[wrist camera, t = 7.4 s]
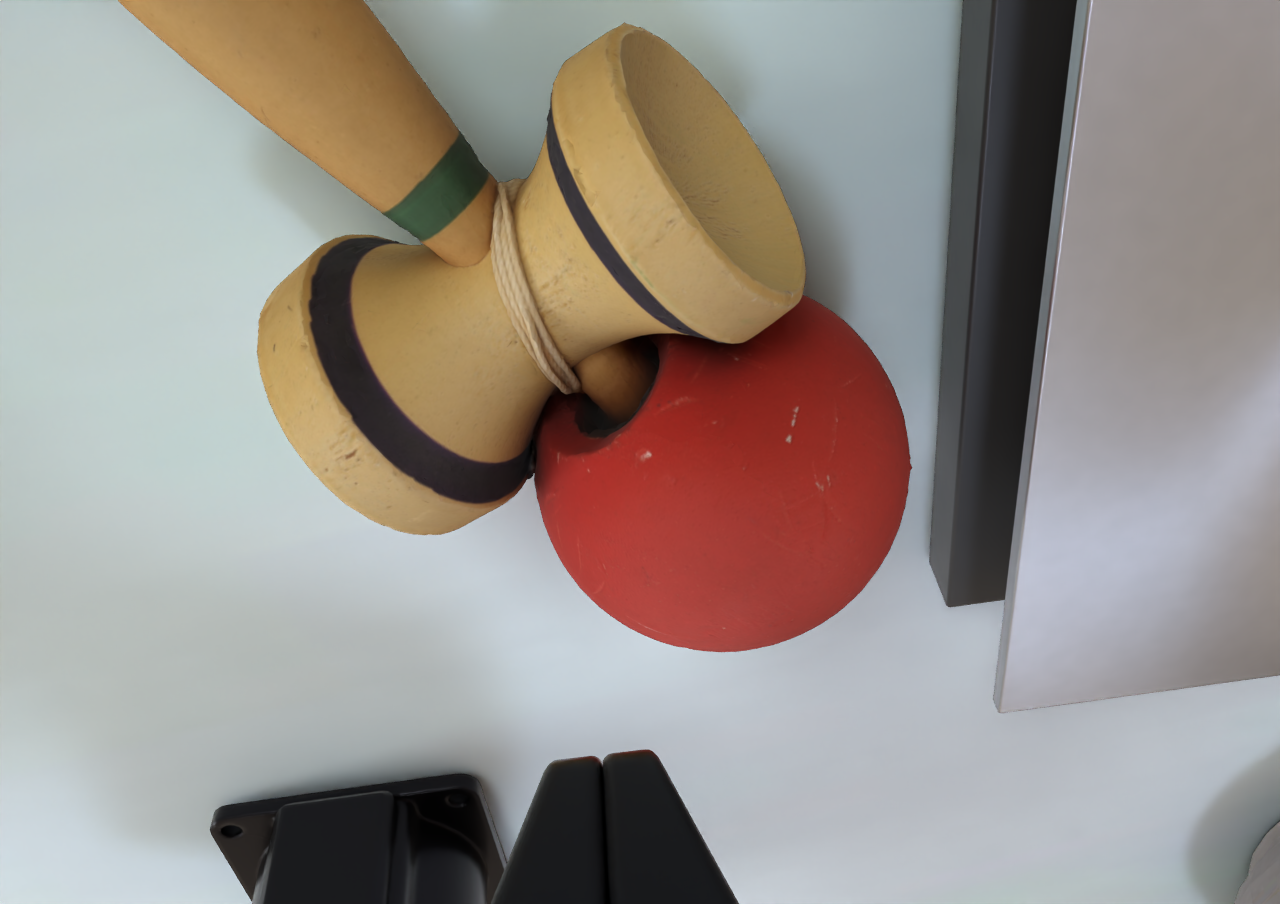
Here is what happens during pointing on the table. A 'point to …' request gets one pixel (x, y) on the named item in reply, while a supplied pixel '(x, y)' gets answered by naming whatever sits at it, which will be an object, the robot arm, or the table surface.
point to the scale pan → (1154, 367)
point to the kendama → (568, 328)
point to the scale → (994, 280)
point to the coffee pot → (1263, 872)
